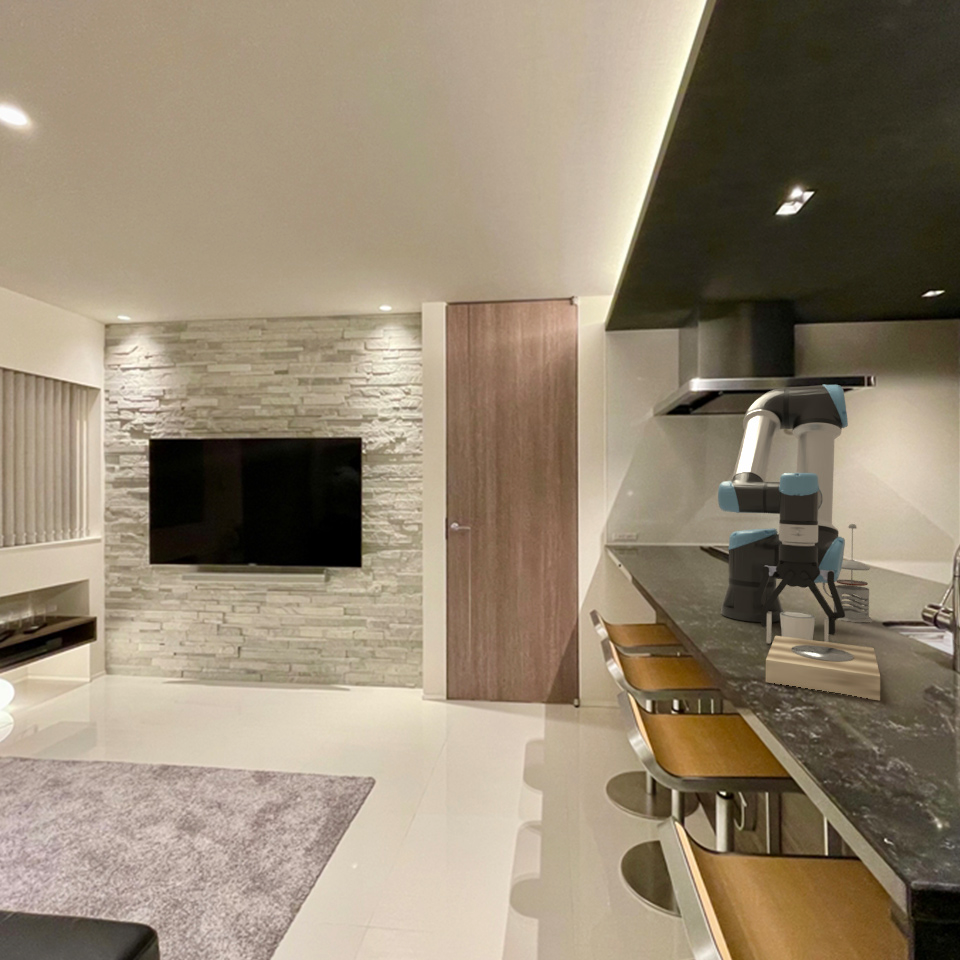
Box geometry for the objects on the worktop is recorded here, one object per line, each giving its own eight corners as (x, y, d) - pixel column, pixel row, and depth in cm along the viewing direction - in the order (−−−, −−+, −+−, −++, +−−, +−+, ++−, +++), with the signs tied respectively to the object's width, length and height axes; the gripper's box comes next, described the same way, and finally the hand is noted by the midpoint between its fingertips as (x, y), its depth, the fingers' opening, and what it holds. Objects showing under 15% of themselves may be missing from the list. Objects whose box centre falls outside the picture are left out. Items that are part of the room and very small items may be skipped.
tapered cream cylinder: (819, 651, 128) (820, 618, 128) (784, 649, 129) (784, 616, 129) (808, 643, 135) (809, 611, 135) (775, 641, 136) (775, 610, 136)
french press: (878, 624, 154) (879, 525, 154) (826, 620, 158) (827, 524, 158) (868, 616, 163) (869, 523, 163) (819, 612, 167) (820, 521, 167)
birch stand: (775, 655, 125) (775, 634, 125) (873, 668, 116) (873, 646, 116) (765, 682, 108) (765, 658, 108) (880, 700, 99) (880, 675, 99)
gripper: (739, 541, 134) (737, 641, 134) (861, 548, 123) (859, 658, 123) (743, 539, 141) (742, 634, 141) (859, 545, 129) (858, 649, 129)
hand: (797, 645), depth 132 cm, fingers open, 10 cm apart
